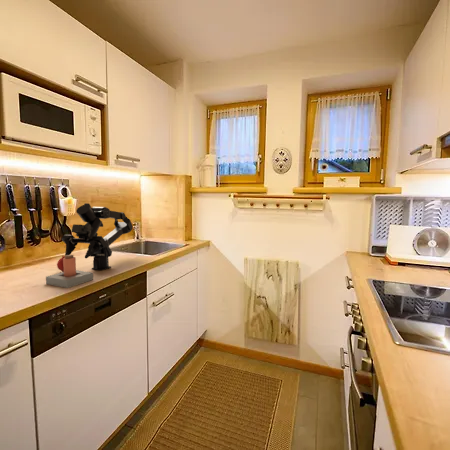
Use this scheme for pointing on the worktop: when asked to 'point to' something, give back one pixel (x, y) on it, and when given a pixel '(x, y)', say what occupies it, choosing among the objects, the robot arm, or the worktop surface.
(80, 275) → the socket board
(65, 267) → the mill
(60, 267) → the onion
